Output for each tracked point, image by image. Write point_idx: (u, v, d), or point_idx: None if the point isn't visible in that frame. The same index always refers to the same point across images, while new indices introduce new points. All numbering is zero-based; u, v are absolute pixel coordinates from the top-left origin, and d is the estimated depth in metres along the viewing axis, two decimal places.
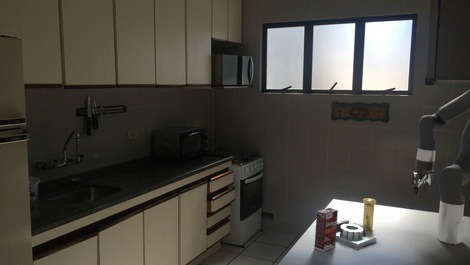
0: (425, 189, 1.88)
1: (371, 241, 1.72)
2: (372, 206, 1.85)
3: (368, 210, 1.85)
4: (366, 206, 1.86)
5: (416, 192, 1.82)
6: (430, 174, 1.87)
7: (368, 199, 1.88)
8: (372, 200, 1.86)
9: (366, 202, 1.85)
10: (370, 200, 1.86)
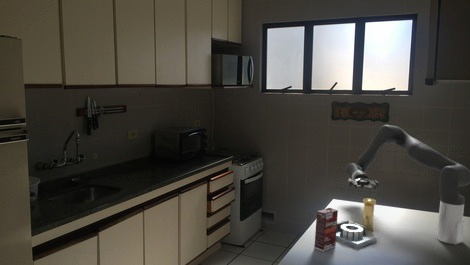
0: (373, 186, 1.98)
1: (371, 241, 1.72)
2: (372, 206, 1.85)
3: (368, 210, 1.85)
4: (366, 206, 1.86)
5: (354, 184, 1.99)
6: (373, 182, 2.05)
7: (368, 199, 1.88)
8: (372, 200, 1.86)
9: (366, 202, 1.85)
10: (370, 200, 1.86)
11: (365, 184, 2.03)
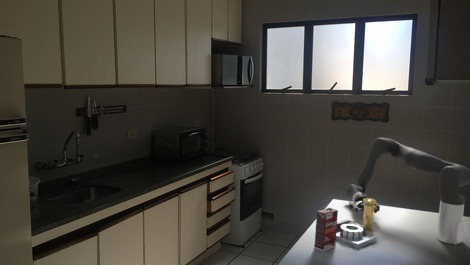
0: (374, 210, 1.94)
1: (371, 241, 1.72)
2: (372, 206, 1.85)
3: (368, 210, 1.85)
4: (366, 206, 1.86)
5: (355, 207, 1.95)
6: (374, 205, 2.01)
7: (368, 199, 1.87)
8: (372, 200, 1.86)
9: (366, 202, 1.85)
10: (370, 200, 1.86)
11: None
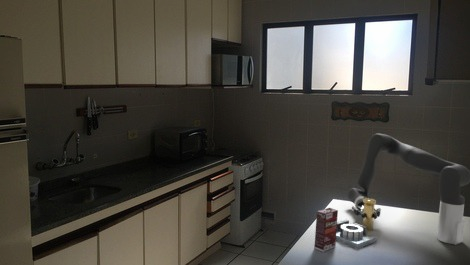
0: (373, 216, 1.86)
1: (371, 241, 1.72)
2: (372, 206, 1.85)
3: (368, 210, 1.85)
4: (366, 206, 1.86)
5: (362, 213, 1.86)
6: (376, 210, 1.93)
7: (368, 199, 1.87)
8: (372, 200, 1.86)
9: (366, 202, 1.85)
10: (370, 200, 1.86)
11: None
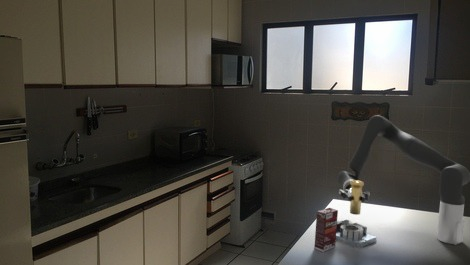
0: (361, 198, 1.75)
1: (371, 241, 1.72)
2: (360, 188, 1.74)
3: (355, 192, 1.74)
4: (353, 188, 1.75)
5: (349, 196, 1.76)
6: (365, 193, 1.82)
7: (356, 181, 1.77)
8: (360, 182, 1.75)
9: (353, 184, 1.74)
10: (358, 182, 1.75)
11: None
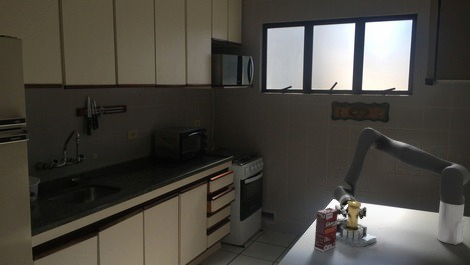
0: (360, 215, 1.74)
1: (371, 241, 1.72)
2: (357, 209, 1.73)
3: (352, 213, 1.74)
4: (350, 209, 1.74)
5: (343, 213, 1.74)
6: (362, 209, 1.80)
7: (353, 201, 1.76)
8: (357, 203, 1.75)
9: (351, 204, 1.73)
10: (355, 202, 1.75)
11: None
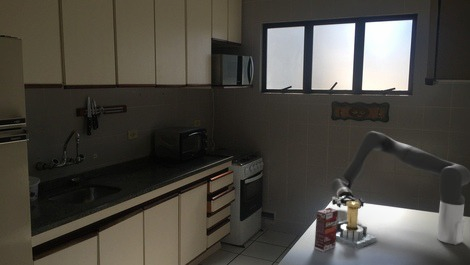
0: None
1: (371, 241, 1.72)
2: (356, 210, 1.73)
3: (351, 214, 1.73)
4: (349, 210, 1.73)
5: (338, 203, 1.88)
6: (358, 200, 1.93)
7: (352, 202, 1.75)
8: (356, 203, 1.74)
9: (349, 205, 1.73)
10: (354, 203, 1.74)
11: None
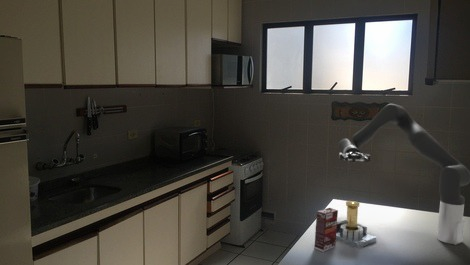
0: (364, 159, 1.89)
1: (371, 241, 1.72)
2: (356, 209, 1.73)
3: (351, 213, 1.73)
4: (349, 209, 1.74)
5: (345, 157, 1.90)
6: (365, 155, 1.96)
7: (351, 202, 1.76)
8: (355, 202, 1.75)
9: (349, 205, 1.73)
10: (353, 202, 1.75)
11: (356, 158, 1.94)
